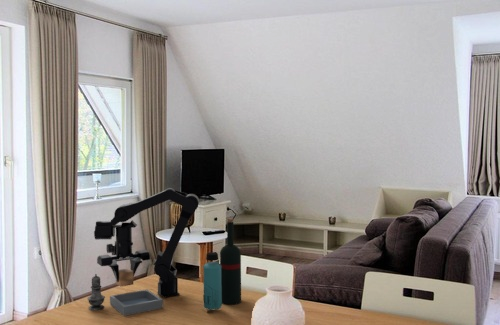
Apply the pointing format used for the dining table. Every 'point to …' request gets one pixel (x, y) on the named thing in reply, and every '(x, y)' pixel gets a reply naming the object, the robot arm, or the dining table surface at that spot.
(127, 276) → the light brown block
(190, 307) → the dining table surface
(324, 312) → the dining table surface
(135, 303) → the low wall corral
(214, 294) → the beverage bottle
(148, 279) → the dining table surface
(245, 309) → the dining table surface
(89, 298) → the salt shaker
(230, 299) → the wine bottle
